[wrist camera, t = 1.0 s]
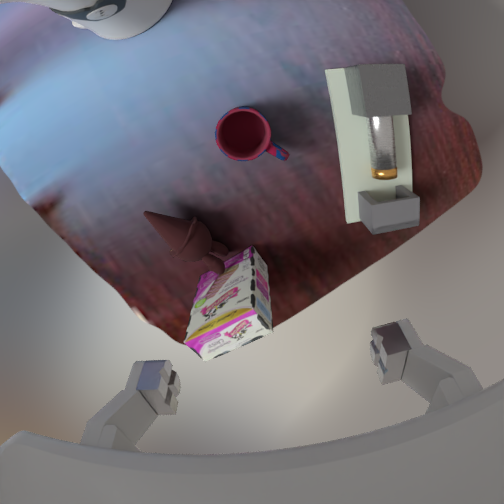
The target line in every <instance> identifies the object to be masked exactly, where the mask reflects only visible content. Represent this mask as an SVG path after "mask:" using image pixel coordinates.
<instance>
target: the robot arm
mask: <svg viewBox="0 0 504 504" xmlns="http://www.w3.org/2000/svg"><path fill="white" fill-rule="evenodd" d="M9 2H26V3H32V4H37V5H42V6H46V7H49V8H50V9H51V10H52V11H54V12H55V13H58V15H61V16H64V17H66V18H68V19H70V20H72V24H73V26H75V27H77V28H81V29H89V30H91V31H92V32H94V33H95V34H97V35H98V36H100V37H102V38H106V39H111V40H119V39H126V38H130V37H133V36H135V35H138V34H140V33H142V32H144V31H145V30H147V29H149V28H150V27H151V26H153V25H154V24H155V23H156V22H157V21H158V20H159V19H160V18H161V17H162V16H163V15H164V14H165V12H166V11H167V9H168V8H169V6H170V4H171V2H172V0H0V4H3V3H9ZM371 335H372V338H373V340H372V341H371V342H370V352H371V357H372V361H373V363H374V365H376V366H377V367H378V369H377V374H378V376H379V379H380V381H381V384H382V385H384V384H388V383H391V382H395V381H399V380H401V381H402V382H403V383H405V384H406V385H407V386H409V387H410V388H411V389H412V390H414V391H415V392H416V393H418V394H419V395H420V396H422V397H423V398H424V399H425V400H427V401H428V402H429V403H430V405H429V407H428V409H427V411H426V413H425V415H422V416H419V417H416V418H413V419H410V420H407V421H404V422H401V423H398V424H395V425H392V426H388V427H385V428H381V429H378V430H375V431H371V432H367V433H363V434H359V435H355V436H351V437H347V438H343V439H338V440H333V441H328V442H322V443H317V444H312V445H305V446H299V447H293V448H285V449H277V450H270V451H259V452H247V453H232V454H207V455H206V454H202V455H201V454H200V455H199V454H196V455H193V454H160V453H145V452H142V451H141V450H140V449H139V448H138V447H137V446H136V443H137V442H138V441H139V440H140V438H141V437H142V436H143V434H144V433H145V432H146V431H147V429H148V428H149V427H150V426H151V424H152V423H153V422H154V420H155V419H156V418H157V416H158V415H174V414H176V411H177V405H178V401H177V399H176V397H177V396H178V395H179V393H180V388H181V387H180V379H179V376H178V375H177V373H176V372H175V371H173V370H172V364H171V362H170V361H169V360H154V361H136V362H135V363H134V364H133V366H132V369H131V372H130V375H129V378H128V381H127V384H126V388H125V390H122V391H120V392H119V393H118V394H117V395H116V396H115V397H114V398H113V399H112V400H111V401H110V402H108V403H107V404H106V405H105V406H104V407H103V408H102V409H101V410H100V411H99V412H97V413H96V414H95V415H94V416H93V417H92V418H91V419H90V420H89V421H88V422H87V424H86V428H85V430H84V433H83V436H82V439H81V443H80V444H78V443H73V442H68V441H63V440H59V439H55V438H51V437H47V436H43V435H39V434H35V433H32V432H28V431H20V432H18V433H17V434H15V435H14V436H12V437H11V438H9V439H8V440H7V441H6V442H4V443H3V444H2V445H1V446H0V504H504V379H502V380H501V381H499V382H497V383H495V384H493V385H491V386H489V387H487V388H485V389H483V388H482V386H481V384H480V382H479V381H478V379H477V377H476V375H475V374H474V372H473V370H472V369H471V367H469V366H467V365H465V364H463V363H461V362H459V361H457V360H456V359H454V358H452V357H450V356H448V355H446V354H444V353H442V352H440V351H438V350H437V349H435V348H433V347H431V346H429V345H424V344H423V343H422V341H421V339H420V338H419V336H418V334H417V332H416V331H415V329H414V328H413V326H412V324H411V322H410V321H409V320H408V319H403V320H399V321H396V322H392V323H388V324H385V325H381V326H377V327H373V328H372V331H371Z"/></svg>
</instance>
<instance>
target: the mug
mask: <svg viewBox="0 0 504 504" xmlns="http://www.w3.org/2000/svg"><path fill="white" fill-rule="evenodd" d="M215 137H216V142H217V145H218V147H219V149H220V150H221V151H222V152H223V153H224V154H225V155H226V156H228V157H229V158H231V159H234V160H237V161H249V160H253V159H255V158H257V157H259V156H260V155H261V154H262V153H264V152H265V151H266V152H268V153H270V154H272V155H273V156H275V157H277V158H279V159H281V160H284V161H285V160H287V159H288V157H289V153H288V152H287V151H286V150H284V149H283V148H281V147H280V146H278V145H277V144H275V143H274V142H272V141H271V129H270V125H269V123H268V121H267V120H266V118H265V117H264V116H263V115H262V114H261V113H260V112H259V111H257V110H256V109H253V108H251V107H244V106H243V107H237V108H234V109H232V110H230V111H229V112H227V113H226V114H225V115H224V116H223V117H222V118H221V119H220V120H219V122H218V124H217V127H216V131H215Z"/></svg>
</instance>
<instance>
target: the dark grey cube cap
mask: <svg viewBox="0 0 504 504" xmlns="http://www.w3.org/2000/svg"><path fill="white" fill-rule="evenodd" d="M344 71H345V76H346V82H347V87H348V93H349V99H350V105H351V111H352V114H353V115H357V116H362V117H367V118H368V117H379V116H393V115H410V114H412V112H411V104H410V96H409V89H408V82H407V76H406V70H405V64H364V65H355V66H351V67H347V68H344Z"/></svg>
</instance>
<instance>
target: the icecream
mask: <svg viewBox="0 0 504 504" xmlns="http://www.w3.org/2000/svg"><path fill="white" fill-rule="evenodd" d="M144 216H145V217H146V218H147V219H148V221H149V222H150V223H151V224H152V226H153V227H154V228H155V229H156V231H157V232H158V233H159V234H160V235H161V237H162V238H163V239H164V240H165V242H166V243H167V244H168V245H169V246H170V248H171V250H170V251H169V252H170V254H171V255H172V257H175V256H177V257H178V258H180V259H182V260H183V261H189V262H195V261H199V260H203V261H204V263H205V264H206V265H207V266H208V268H209V270H210V271H213V272H215V273H216V274H219V275H220V274H223V273H224V272H225V264H224V262H223V261H222V260H221V259H219V258H217V257H215V256H213V255H211V254H208V253H209V252H210V251H211V252H213V253H214V254H216V255H218V256H222V257H224V256H227V255H228V252H229V251H228V248H227V247H226V246H225V245H224V244H222V243H220V242H217V241H212V237H211V234H210V231H209V230H208V228H207V226H205V225H204V224H203V223H202V222H200V221H197V218H196V216H195V217H193V218H192V220H191V221H189V220H185V219H180V218H176V217H171V216H166V215H162V214H157V213H153V212H149V211H145V212H144Z"/></svg>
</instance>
